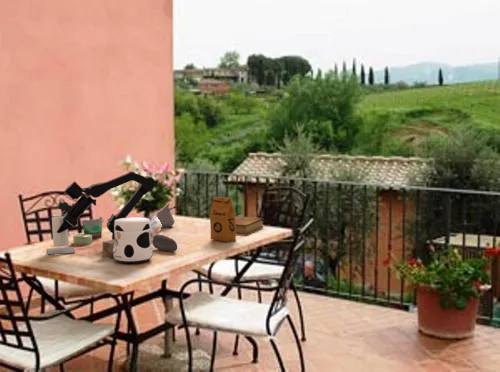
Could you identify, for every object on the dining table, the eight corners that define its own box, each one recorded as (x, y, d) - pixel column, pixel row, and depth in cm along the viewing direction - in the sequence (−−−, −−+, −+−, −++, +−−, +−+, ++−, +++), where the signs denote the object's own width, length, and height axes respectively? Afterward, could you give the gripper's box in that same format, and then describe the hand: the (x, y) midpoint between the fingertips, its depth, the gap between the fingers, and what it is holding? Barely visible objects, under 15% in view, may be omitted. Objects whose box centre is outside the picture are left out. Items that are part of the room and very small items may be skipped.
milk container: (105, 260, 279) (104, 220, 277) (138, 254, 291) (137, 215, 289) (127, 267, 267) (126, 225, 265) (161, 260, 279) (160, 220, 277)
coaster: (73, 248, 305) (73, 246, 305) (75, 253, 294) (75, 252, 294) (47, 250, 301) (47, 248, 301) (47, 255, 290) (47, 254, 290)
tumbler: (70, 245, 297) (68, 217, 295) (56, 247, 293) (55, 219, 291) (65, 242, 302) (64, 215, 300) (51, 244, 298) (50, 217, 296)
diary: (233, 225, 364) (233, 215, 363) (263, 228, 357) (263, 218, 356) (214, 232, 343) (214, 222, 342) (246, 235, 336) (246, 224, 335)
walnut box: (122, 256, 288) (121, 241, 287) (111, 258, 283) (111, 243, 282) (113, 254, 292) (113, 239, 291) (103, 257, 287) (102, 241, 286)
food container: (90, 240, 322) (89, 221, 321) (82, 239, 326) (81, 220, 324) (109, 236, 332) (108, 217, 330) (101, 235, 335) (100, 216, 334)
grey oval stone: (180, 252, 295) (180, 237, 294) (172, 254, 292) (171, 239, 291) (160, 247, 306) (160, 233, 305) (151, 249, 302) (151, 234, 301)
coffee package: (226, 243, 313) (225, 199, 310) (207, 240, 321) (207, 197, 318) (239, 240, 321) (239, 197, 318) (220, 237, 328) (220, 195, 326)
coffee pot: (149, 227, 357) (149, 200, 356) (163, 224, 367) (162, 198, 365) (179, 231, 346) (178, 203, 344) (192, 227, 355) (192, 201, 353)
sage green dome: (95, 243, 315) (94, 235, 315) (77, 246, 310) (77, 238, 310) (88, 240, 323) (87, 233, 322) (70, 243, 317) (70, 235, 317)
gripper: (66, 192, 304) (43, 216, 302) (68, 197, 287) (44, 223, 285) (84, 207, 308) (61, 231, 306) (87, 213, 290) (63, 239, 288)
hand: (57, 231), depth 296 cm, fingers closed on tumbler, 7 cm apart
